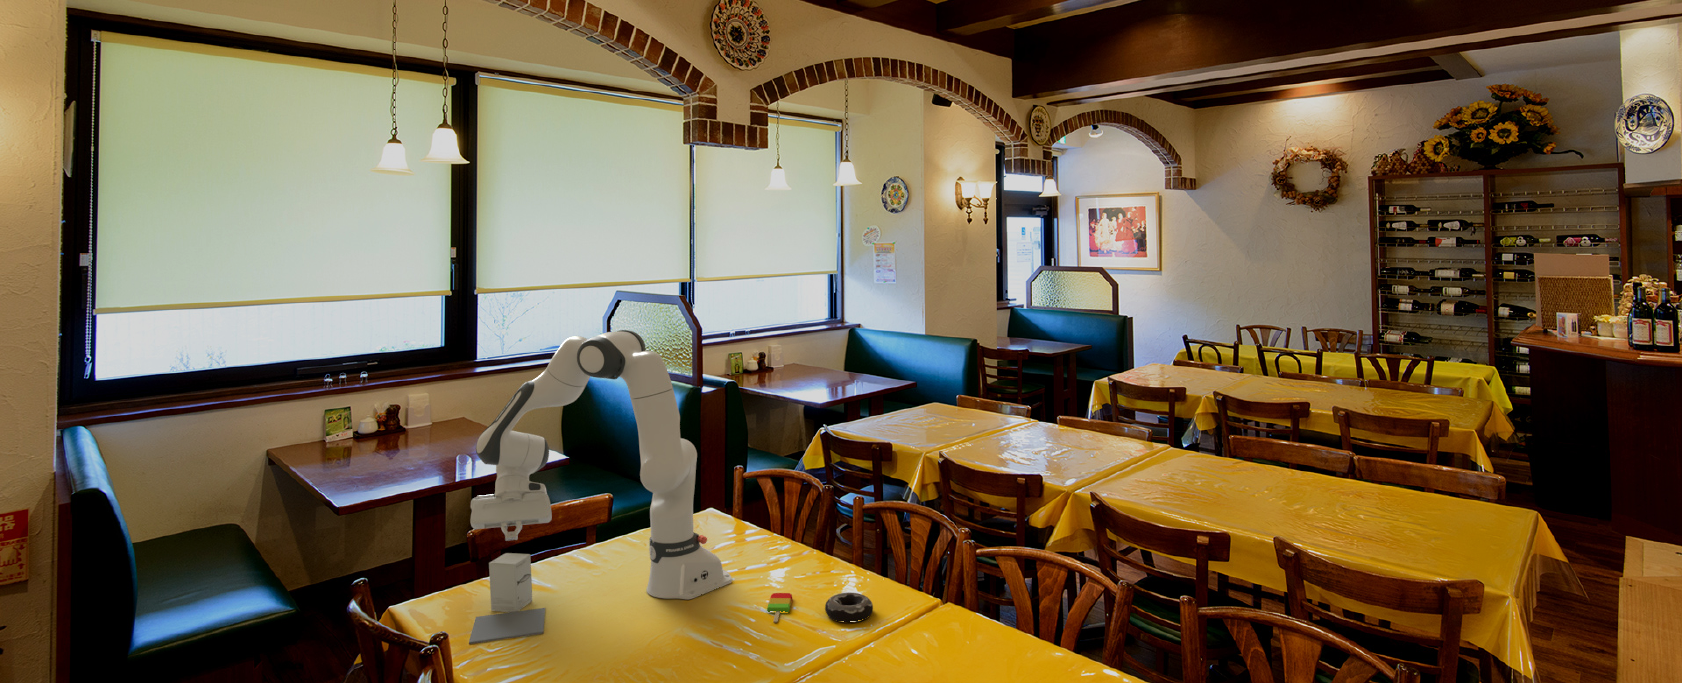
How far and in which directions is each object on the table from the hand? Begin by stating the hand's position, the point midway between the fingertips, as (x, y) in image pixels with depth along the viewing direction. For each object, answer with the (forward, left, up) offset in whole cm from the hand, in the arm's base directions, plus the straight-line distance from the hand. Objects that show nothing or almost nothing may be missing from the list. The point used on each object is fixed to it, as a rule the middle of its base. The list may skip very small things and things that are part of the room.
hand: (511, 539), depth 217 cm
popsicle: (-48, +55, -15) cm, 74 cm away
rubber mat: (+7, +21, -14) cm, 26 cm away
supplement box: (+3, +10, -14) cm, 18 cm away
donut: (-60, +68, -14) cm, 91 cm away
